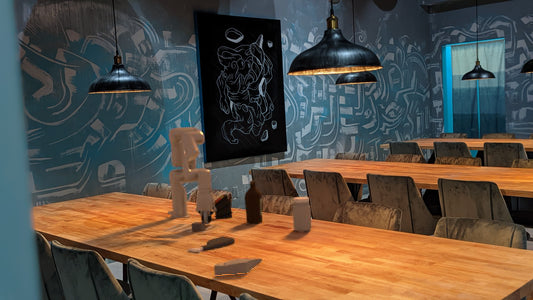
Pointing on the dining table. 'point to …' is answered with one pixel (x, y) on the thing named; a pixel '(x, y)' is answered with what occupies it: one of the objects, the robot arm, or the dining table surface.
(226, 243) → the brown brush
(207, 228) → the panel
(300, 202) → the jar
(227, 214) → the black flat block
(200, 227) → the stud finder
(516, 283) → the dining table surface
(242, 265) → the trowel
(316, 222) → the dining table surface
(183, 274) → the dining table surface
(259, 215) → the olive oil
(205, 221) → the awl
